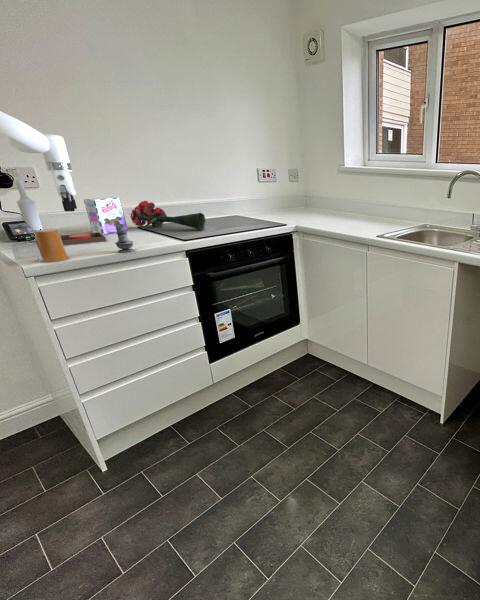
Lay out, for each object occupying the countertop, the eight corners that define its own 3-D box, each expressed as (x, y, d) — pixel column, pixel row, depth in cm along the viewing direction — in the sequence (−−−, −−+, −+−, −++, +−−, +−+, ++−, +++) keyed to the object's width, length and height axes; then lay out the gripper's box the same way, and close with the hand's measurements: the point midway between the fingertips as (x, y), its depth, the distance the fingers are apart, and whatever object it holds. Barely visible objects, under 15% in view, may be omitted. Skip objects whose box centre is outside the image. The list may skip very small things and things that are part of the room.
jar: (43, 263, 122) (33, 232, 118) (42, 259, 126) (31, 230, 122) (68, 260, 127) (59, 230, 123) (66, 256, 131) (57, 228, 127)
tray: (60, 245, 145) (58, 241, 145) (56, 240, 154) (55, 236, 153) (106, 241, 156) (105, 236, 155) (100, 236, 164) (99, 232, 163)
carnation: (205, 243, 190) (136, 239, 186) (213, 217, 199) (147, 212, 195) (194, 224, 177) (119, 219, 172) (203, 197, 185) (132, 192, 181)
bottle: (47, 238, 156) (27, 179, 147) (46, 240, 152) (26, 180, 143) (31, 239, 153) (10, 179, 144) (29, 242, 149) (8, 180, 140)
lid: (91, 237, 159) (90, 233, 158) (91, 240, 154) (89, 236, 153) (70, 239, 155) (69, 234, 154) (69, 242, 150) (67, 237, 149)
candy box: (103, 235, 167) (93, 199, 161) (92, 234, 168) (82, 198, 162) (128, 230, 180) (120, 197, 174) (118, 229, 180) (109, 196, 174)
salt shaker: (131, 248, 144) (123, 219, 140) (138, 250, 142) (130, 221, 137) (114, 251, 140) (106, 221, 135) (121, 253, 137) (113, 222, 133)
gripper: (69, 168, 139) (81, 212, 145) (73, 167, 152) (84, 207, 158) (43, 167, 135) (56, 212, 141) (49, 166, 148) (61, 208, 154)
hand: (71, 210), depth 149 cm, fingers open, 9 cm apart
